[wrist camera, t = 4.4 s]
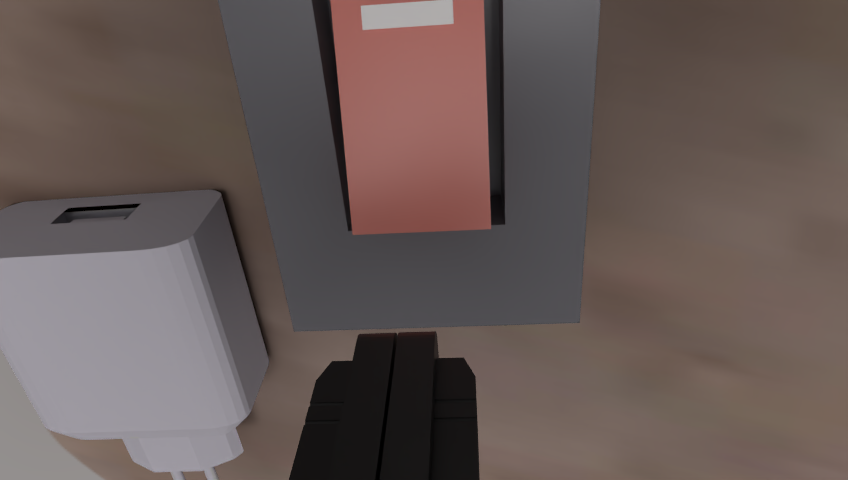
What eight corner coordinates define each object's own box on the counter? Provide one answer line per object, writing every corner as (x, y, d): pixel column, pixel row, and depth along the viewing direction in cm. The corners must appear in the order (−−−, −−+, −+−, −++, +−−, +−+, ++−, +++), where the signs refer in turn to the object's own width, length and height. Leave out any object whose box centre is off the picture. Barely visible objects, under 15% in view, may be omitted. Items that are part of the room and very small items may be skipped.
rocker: (339, -18, 18) (327, -26, 16) (480, -28, 18) (482, -37, 16) (361, 221, 20) (352, 235, 18) (488, 215, 19) (491, 230, 18)
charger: (131, 446, 34) (13, 198, 26) (299, 442, 33) (227, 184, 25) (87, 526, 30) (-69, 260, 22) (276, 523, 29) (183, 246, 21)
